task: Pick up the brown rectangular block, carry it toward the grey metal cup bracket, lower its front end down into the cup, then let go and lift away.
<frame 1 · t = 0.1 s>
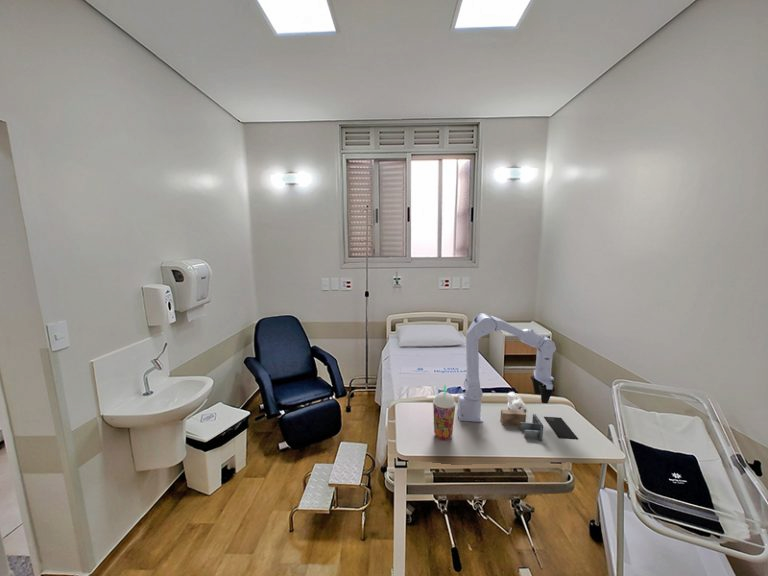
hand: (540, 398, 129), 10 cm above the table, tool pointing down, fingers open, 7 cm apart
baby figurine: (515, 408, 141), on the table
smartphone: (559, 428, 126), on the table
smoothie: (443, 436, 120), on the table
cup bracket: (528, 433, 122), on the table
brown rectangular block: (512, 423, 129), on the table
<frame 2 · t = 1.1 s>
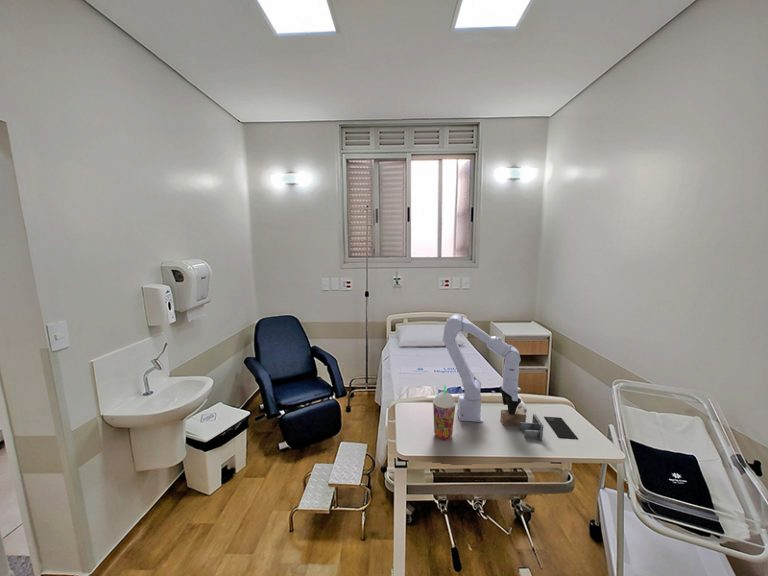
hand: (508, 409, 128), 6 cm above the table, tool pointing down, fingers open, 7 cm apart
nothing on the table moved.
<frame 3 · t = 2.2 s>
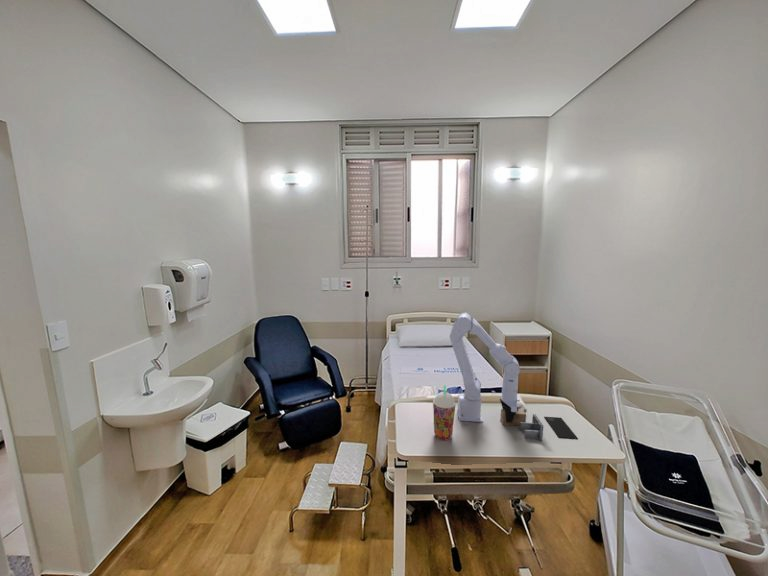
hand: (507, 419, 129), 1 cm above the table, tool pointing down, fingers closed on brown rectangular block, 3 cm apart
brown rectangular block: (512, 423, 129), on the table, touching gripper
everything else where it was.
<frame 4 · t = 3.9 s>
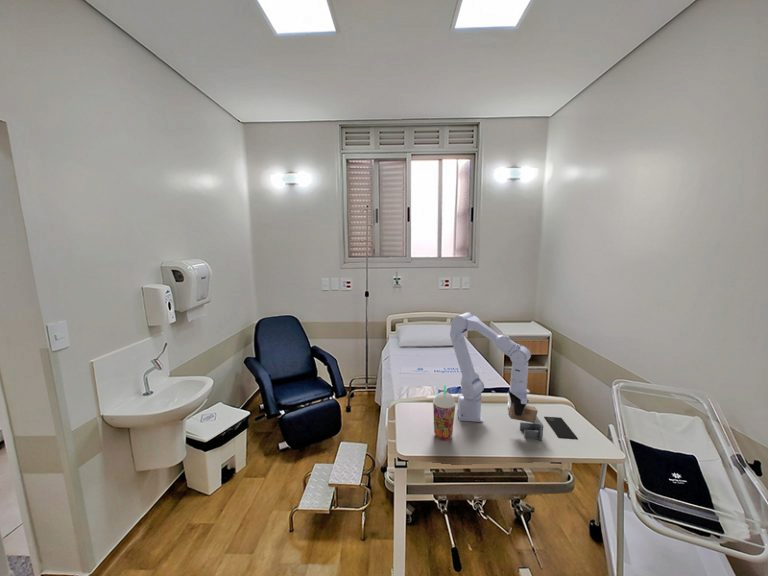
hand: (516, 412, 121), 8 cm above the table, tool pointing down, fingers closed on brown rectangular block, 3 cm apart
brown rectangular block: (521, 418, 121), point 6 cm above the table, tilted 8°, touching gripper
everything else where it was.
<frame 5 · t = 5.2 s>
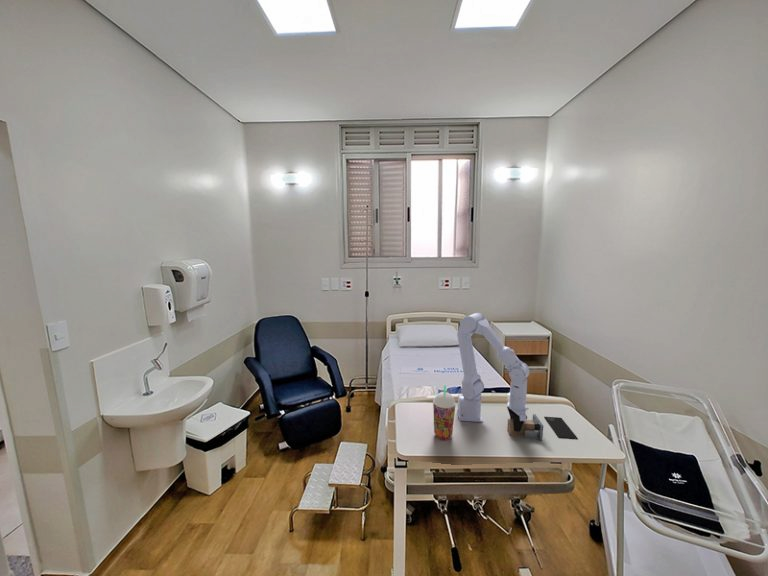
hand: (515, 428, 122), 2 cm above the table, tool pointing down, fingers closed on brown rectangular block, 3 cm apart
brown rectangular block: (520, 433, 122), on the table, touching gripper
everything else where it was.
when the fingers open (2 cm above the table, at t = 5.4 s): brown rectangular block stays where it is, on the table.
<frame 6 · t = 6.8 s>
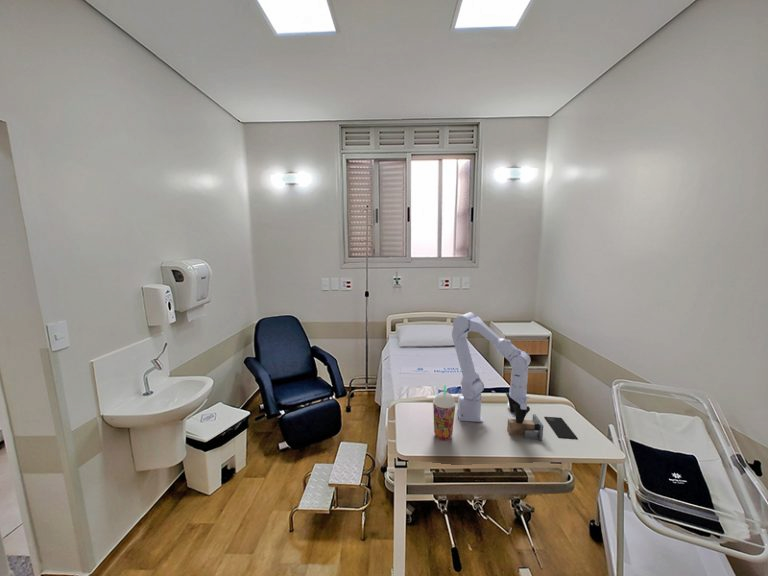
hand: (516, 417, 121), 6 cm above the table, tool pointing down, fingers open, 7 cm apart
brown rectangular block: (520, 433, 122), on the table
everything else where it was.
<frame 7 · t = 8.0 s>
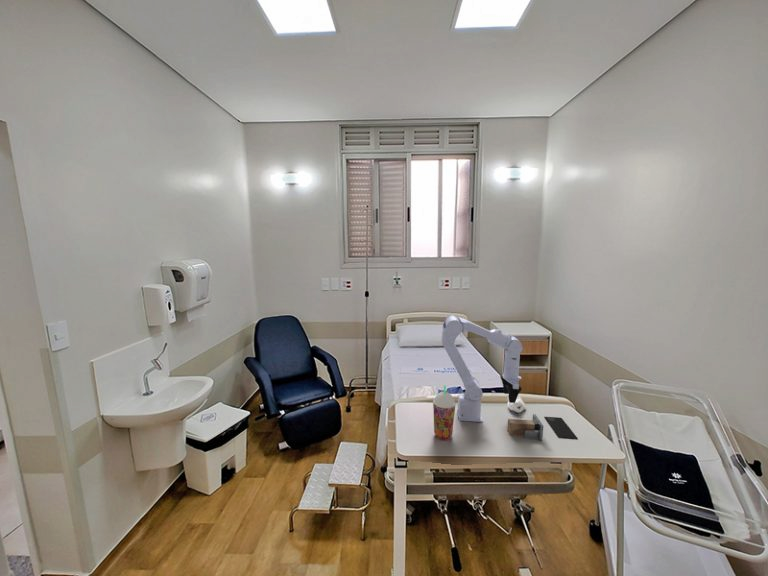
hand: (509, 397, 131), 9 cm above the table, tool pointing down, fingers open, 7 cm apart
nothing on the table moved.
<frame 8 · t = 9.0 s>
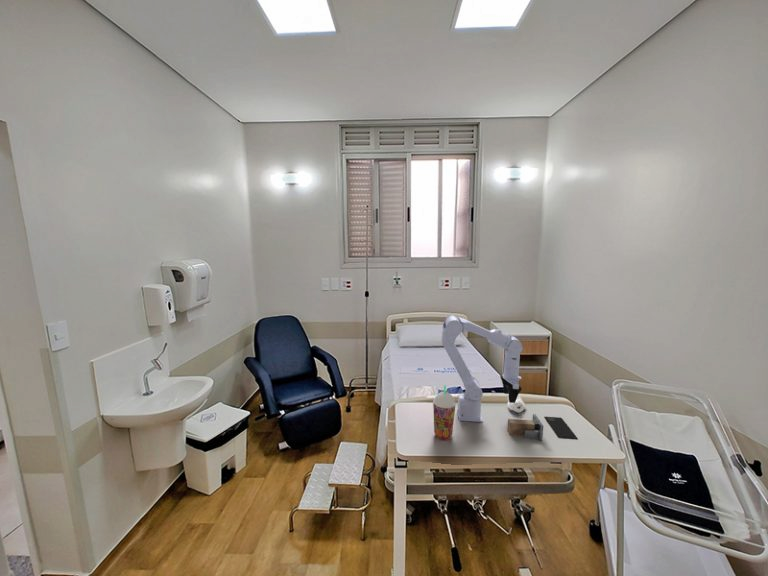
hand: (509, 397, 131), 9 cm above the table, tool pointing down, fingers open, 7 cm apart
nothing on the table moved.
at the end: brown rectangular block 0.1 cm from the target spot on the cup bracket, point 0.0 cm above the cup bracket's base; brown rectangular block tilted 0°; the gripper is holding nothing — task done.
